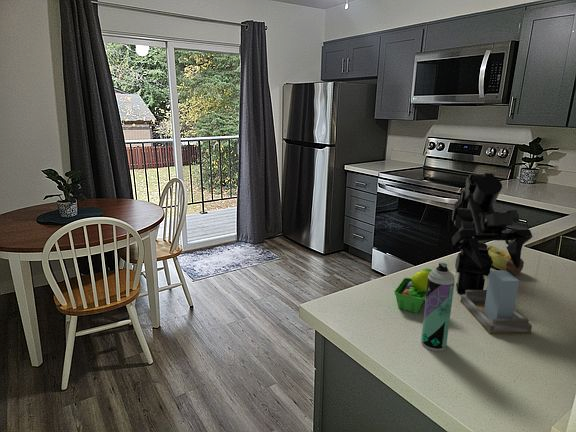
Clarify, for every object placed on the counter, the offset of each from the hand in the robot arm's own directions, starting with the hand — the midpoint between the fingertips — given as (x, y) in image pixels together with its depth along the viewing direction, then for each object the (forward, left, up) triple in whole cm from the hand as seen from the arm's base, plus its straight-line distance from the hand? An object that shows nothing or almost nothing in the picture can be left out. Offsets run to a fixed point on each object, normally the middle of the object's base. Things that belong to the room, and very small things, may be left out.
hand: (500, 267), depth 97 cm
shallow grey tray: (0, 0, -14) cm, 14 cm away
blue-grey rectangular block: (+1, -2, -13) cm, 13 cm away
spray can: (-15, -19, -14) cm, 27 cm away
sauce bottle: (+11, +30, -11) cm, 34 cm away
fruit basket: (-20, -1, -14) cm, 24 cm away
